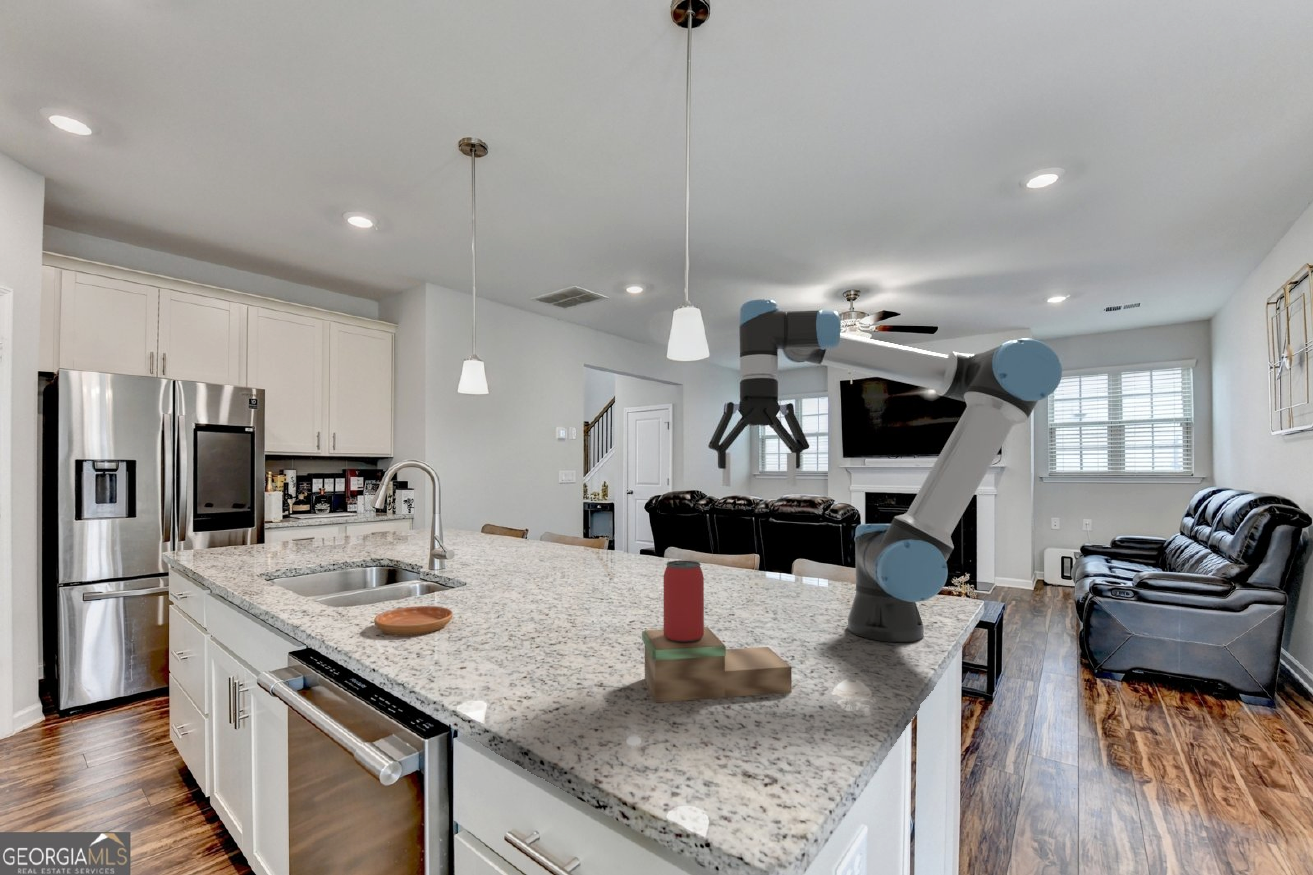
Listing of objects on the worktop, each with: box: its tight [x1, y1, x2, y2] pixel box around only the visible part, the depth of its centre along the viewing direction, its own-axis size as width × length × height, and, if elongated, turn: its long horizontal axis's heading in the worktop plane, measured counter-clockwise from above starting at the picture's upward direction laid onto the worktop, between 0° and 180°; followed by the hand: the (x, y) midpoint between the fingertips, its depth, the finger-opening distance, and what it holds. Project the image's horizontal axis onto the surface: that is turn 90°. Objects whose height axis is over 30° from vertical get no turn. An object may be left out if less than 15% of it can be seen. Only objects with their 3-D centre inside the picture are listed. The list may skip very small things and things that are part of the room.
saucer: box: [373, 605, 454, 637], centre depth 129 cm, size 16×16×3 cm
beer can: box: [663, 559, 705, 643], centre depth 95 cm, size 7×7×12 cm
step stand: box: [641, 626, 793, 703], centre depth 96 cm, size 22×10×8 cm, turn 101°
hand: (759, 485), depth 116 cm, fingers open, 13 cm apart
